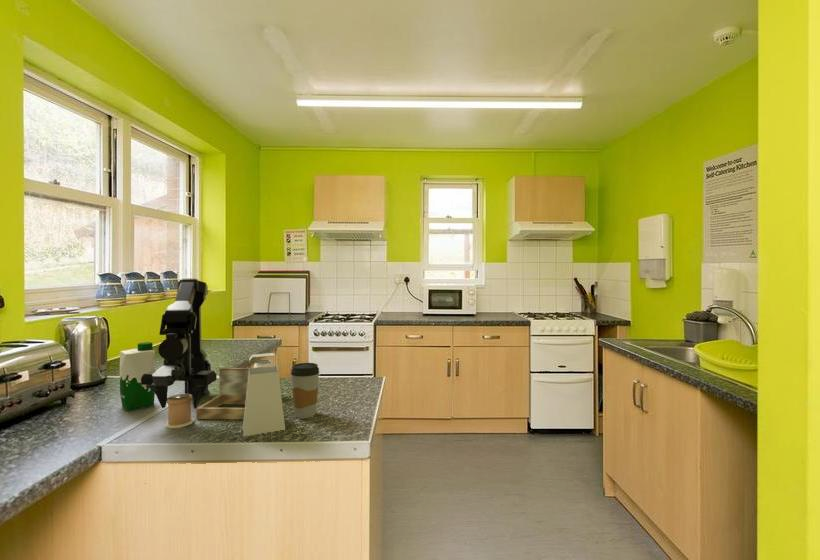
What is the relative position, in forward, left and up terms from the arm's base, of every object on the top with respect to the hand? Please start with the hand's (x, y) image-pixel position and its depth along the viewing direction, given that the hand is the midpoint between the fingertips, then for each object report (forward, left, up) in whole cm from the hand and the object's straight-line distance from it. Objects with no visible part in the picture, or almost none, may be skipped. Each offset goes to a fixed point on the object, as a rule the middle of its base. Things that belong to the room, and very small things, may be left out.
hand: (179, 407), depth 111 cm
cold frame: (+11, +11, -5) cm, 16 cm away
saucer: (0, 0, -5) cm, 5 cm away
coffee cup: (+34, +8, -5) cm, 35 cm away
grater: (+25, -1, -5) cm, 25 cm away
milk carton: (-22, +14, -5) cm, 27 cm away
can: (+14, +26, -5) cm, 30 cm away
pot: (0, 0, -4) cm, 4 cm away
